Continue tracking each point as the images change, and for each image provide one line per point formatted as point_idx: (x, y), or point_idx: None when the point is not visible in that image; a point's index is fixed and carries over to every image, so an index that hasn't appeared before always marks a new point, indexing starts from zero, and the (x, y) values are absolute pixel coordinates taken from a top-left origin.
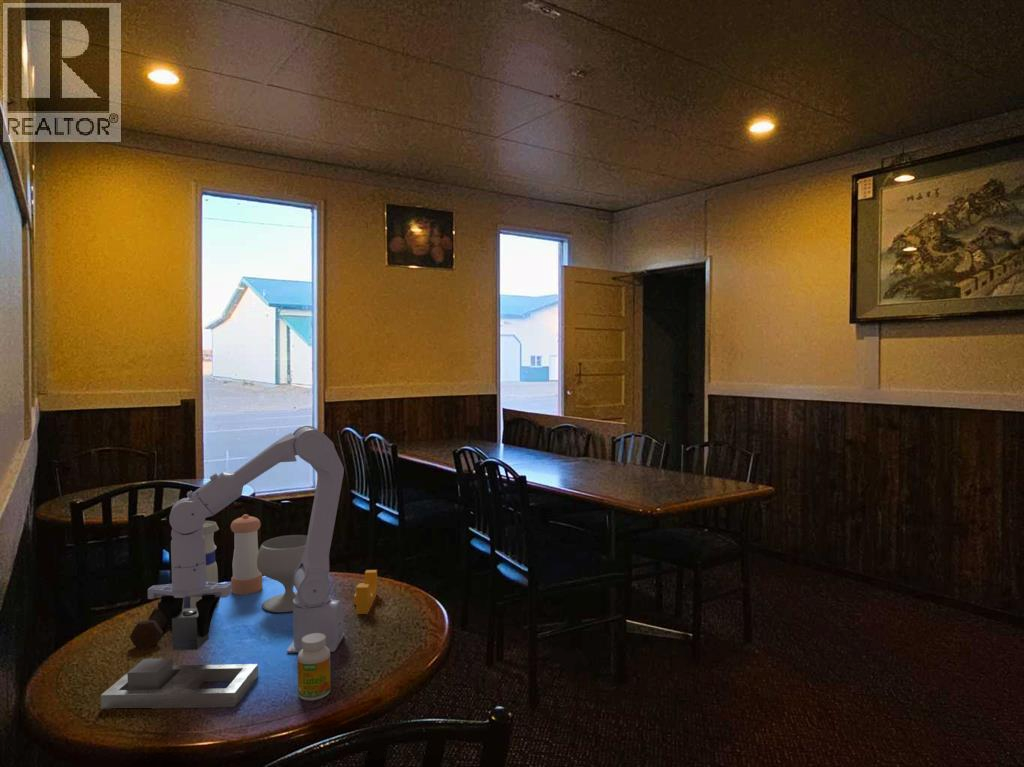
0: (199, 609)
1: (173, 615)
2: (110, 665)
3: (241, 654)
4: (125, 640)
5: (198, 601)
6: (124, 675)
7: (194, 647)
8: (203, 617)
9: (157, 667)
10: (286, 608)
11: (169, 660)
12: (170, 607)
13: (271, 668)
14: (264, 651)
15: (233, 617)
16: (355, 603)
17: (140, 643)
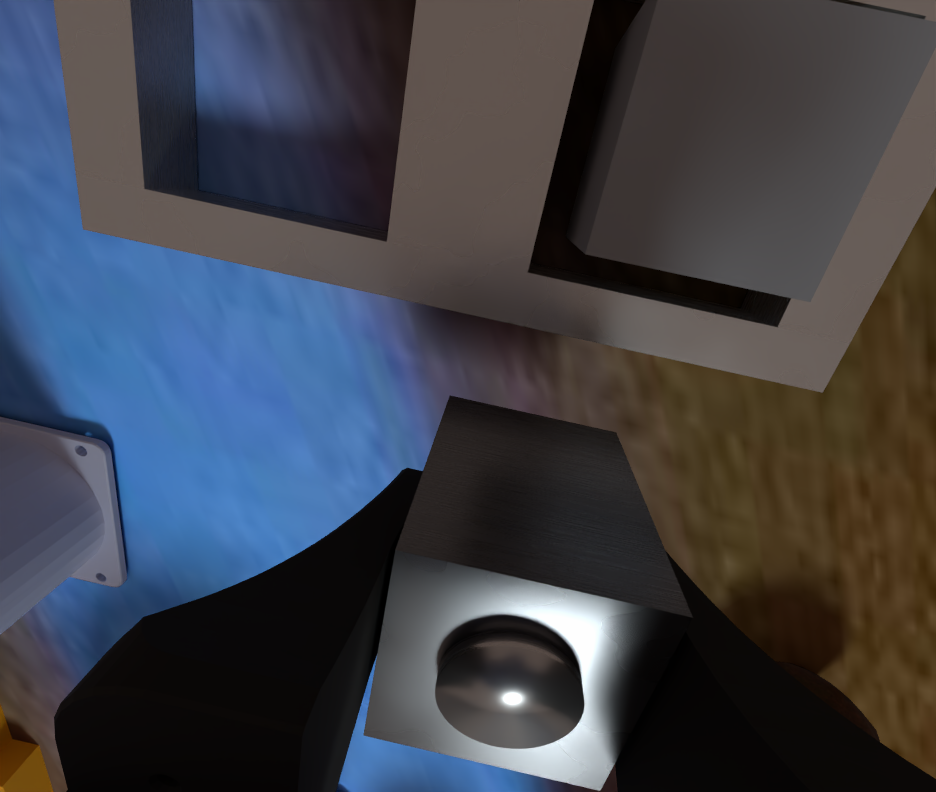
0: (320, 627)
1: (683, 668)
2: (921, 544)
3: (317, 487)
4: None
5: (281, 772)
6: (887, 271)
7: (468, 406)
8: (333, 554)
9: (679, 88)
10: None
11: (601, 216)
12: (772, 769)
13: (118, 308)
14: (224, 488)
15: (455, 787)
16: (26, 753)
17: (802, 683)
